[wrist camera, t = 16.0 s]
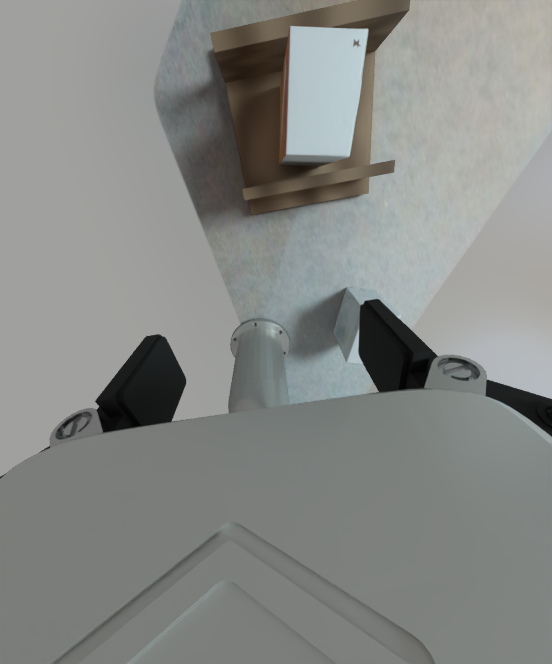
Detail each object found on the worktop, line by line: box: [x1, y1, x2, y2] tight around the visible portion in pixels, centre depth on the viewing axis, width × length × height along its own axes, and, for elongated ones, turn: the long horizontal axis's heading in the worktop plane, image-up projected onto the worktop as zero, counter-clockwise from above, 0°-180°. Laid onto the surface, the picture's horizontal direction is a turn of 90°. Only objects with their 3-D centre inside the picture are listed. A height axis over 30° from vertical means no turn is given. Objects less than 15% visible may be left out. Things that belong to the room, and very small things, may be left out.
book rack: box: [210, 0, 410, 215], centre depth 28 cm, size 18×18×9 cm
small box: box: [279, 26, 368, 166], centre depth 25 cm, size 8×6×13 cm
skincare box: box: [333, 288, 401, 364], centre depth 43 cm, size 10×6×10 cm, turn 173°
